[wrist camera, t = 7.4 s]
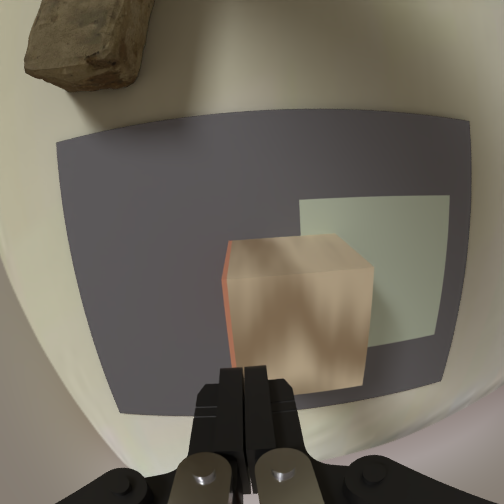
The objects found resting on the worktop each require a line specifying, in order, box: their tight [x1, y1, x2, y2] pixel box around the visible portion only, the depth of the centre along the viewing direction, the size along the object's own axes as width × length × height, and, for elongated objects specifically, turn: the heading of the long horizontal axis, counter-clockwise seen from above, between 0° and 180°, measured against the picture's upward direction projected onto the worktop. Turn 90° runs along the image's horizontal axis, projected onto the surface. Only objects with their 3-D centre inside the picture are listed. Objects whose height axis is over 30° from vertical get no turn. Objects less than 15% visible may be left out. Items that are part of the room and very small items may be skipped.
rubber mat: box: [56, 109, 471, 416], centre depth 19 cm, size 20×26×1 cm
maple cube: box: [221, 233, 374, 395], centre depth 16 cm, size 6×6×6 cm
